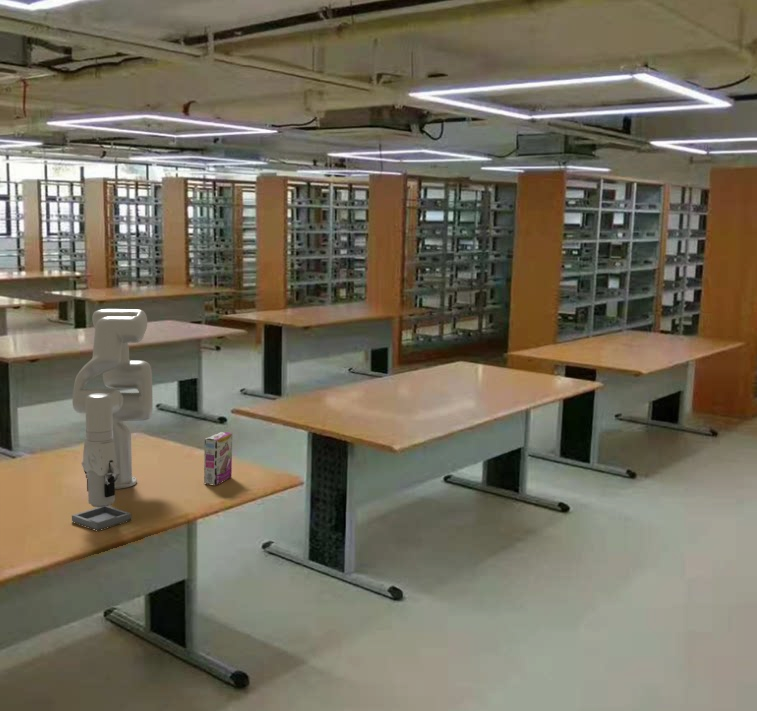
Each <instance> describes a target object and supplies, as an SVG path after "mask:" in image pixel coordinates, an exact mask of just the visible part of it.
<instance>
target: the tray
mask: <svg viewBox="0 0 757 711" xmlns="http://www.w3.org/2000/svg"><path fill="white" fill-rule="evenodd" d="M129 520H131V521H132V512H128V511H125V510H122V509H120V508H116V507H113V506H111V505H110V506H106V507H94V508H91V509H87V510H85V511H82V512H79V513H75V514H72V515H71V522H72V521H73V522H75V523H78V524H80V525H83V526H86V527H89V528H91V529H95V530H97V531H98V530H101V529H104V528H107V527H110V526H113V525H116V526H118V525H117V524H119V525H121V524H120V523H122V524H124V523H123V522H125V523H127V522H126V521H128V522H130V521H129ZM75 523H74V524H75ZM78 524H77V525H78ZM80 525H79V526H80ZM83 526H82V527H83ZM86 527H85V528H86ZM113 527H114V526H113ZM89 528H88V529H89ZM110 528H111V527H110ZM91 529H90V530H91ZM107 529H108V528H107ZM104 530H105V529H104ZM97 531H96V532H97ZM101 531H102V530H101ZM98 532H99V531H98Z"/></svg>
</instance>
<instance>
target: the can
mask: <svg viewBox="0 0 757 711" xmlns="http://www.w3.org/2000/svg"><path fill="white" fill-rule="evenodd" d="M91 469H94V468H91ZM110 472H111V471H110V470H109V471H108V472H107V473H110ZM110 477H111V475H108V479H109V478H110ZM87 479H88V491H87V493H88V497H87V498H88V499H87V500H88V504H90V505H91V506H92V507H94V508H97V507H106V506H110V507H111V506H112V505H113V503H114V502H115V501H116V494H115V495H114V496H110V497H105V490H104V484H106V482H105V479H104V476H98V475H97V473H96V472H94V471H93V470H89V471H88V478H87Z"/></svg>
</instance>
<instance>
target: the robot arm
mask: <svg viewBox="0 0 757 711" xmlns="http://www.w3.org/2000/svg"><path fill="white" fill-rule="evenodd" d="M91 319H92V325H93V328H94V339H93V348H92V358H91V359H90V360H88V362H87V363H85V364H84V365H83V366H82V368H81V369H80V370H79V372H78V373H77V374H76V376H75V380H74V383H73V392H72V407H73V410H74V411H75V412H76V413H78V414H81V415H82V414H83V415H84V414H85V439H84V444H83V455H82V462H81V467H82V469H83V471H84V474H85V478H86V492H88V471H89V470H93V471H94V472H96V473H97V475H98V476H104V479H105V482H106V484H104V490H105V497H110V496H114V495H115V496H116V489H117V490H118V489H120V490H121V489H126V488H130V487H132V486H134V485H136V484H137V481H138V480H137V478H136V477H135V476H133V468H132V463H133V462H132V460H133V459H132V456H133V455H132V433H131V430H130V428H129V426H128V425H127V424H126V423H125V422H135V421H137V422H139V421H140V422H141V421H147V420H150V418H151V417H152V415H153V371H152V370H153V369H152V367H151V364H150V363H149V362H147V361H145V360H132V359H130V346H129V344H132V343H133V344H136V343H138V344H139V343H140V342H141V341H143V338H144V336H145V334H146V331H147V329H148V328H147V327H148V316H147V314H146V312H145V311H144V310H142V309H139V308H138V309H135V308H134V309H133V308H130V309H129V308H127V309H126V308H103V309H98V310H95V311H93V314H92V317H91ZM99 375H102V380H103V384H104V386H105V387H107V388H85V387H86V385H87V383H89V382H90V381H91V380H92V379H93V378H95V377H97V376H99ZM119 389H123V390H124V389H125V390H126V389H127V390H128V389H132V390H133V389H134V390H137V392H121V390H119ZM91 468H94V469H91ZM109 470H110V471H111V472H110V473H107V472H108V471H109ZM108 475H111V477H110V478H109V479H108Z"/></svg>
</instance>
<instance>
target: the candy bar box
mask: <svg viewBox="0 0 757 711" xmlns="http://www.w3.org/2000/svg"><path fill="white" fill-rule="evenodd" d="M232 453H233V433H231V432H223V431H220V432H217V433H215V434H213V435H210V436H208V437H206V438H204V464H203V465H204V468H203V469H204V470H203V471H204V473H203V476H204V477H203V478H204V479H203V480H204V483H206V484H213V485H216V486H218V485H220V484H222V483H223V482H222V481H224V480H226V479H228V478H230V477H231V478H232V469H233V468H232V466H233V465H232V464H233V460H232V459H233V454H232ZM231 478H230V479H231ZM228 480H229V479H228ZM226 481H227V480H226ZM221 482H222V483H221ZM224 482H225V481H224ZM204 483H203V484H204ZM219 483H220V484H219ZM206 484H205V485H206ZM217 484H218V485H217Z"/></svg>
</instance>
